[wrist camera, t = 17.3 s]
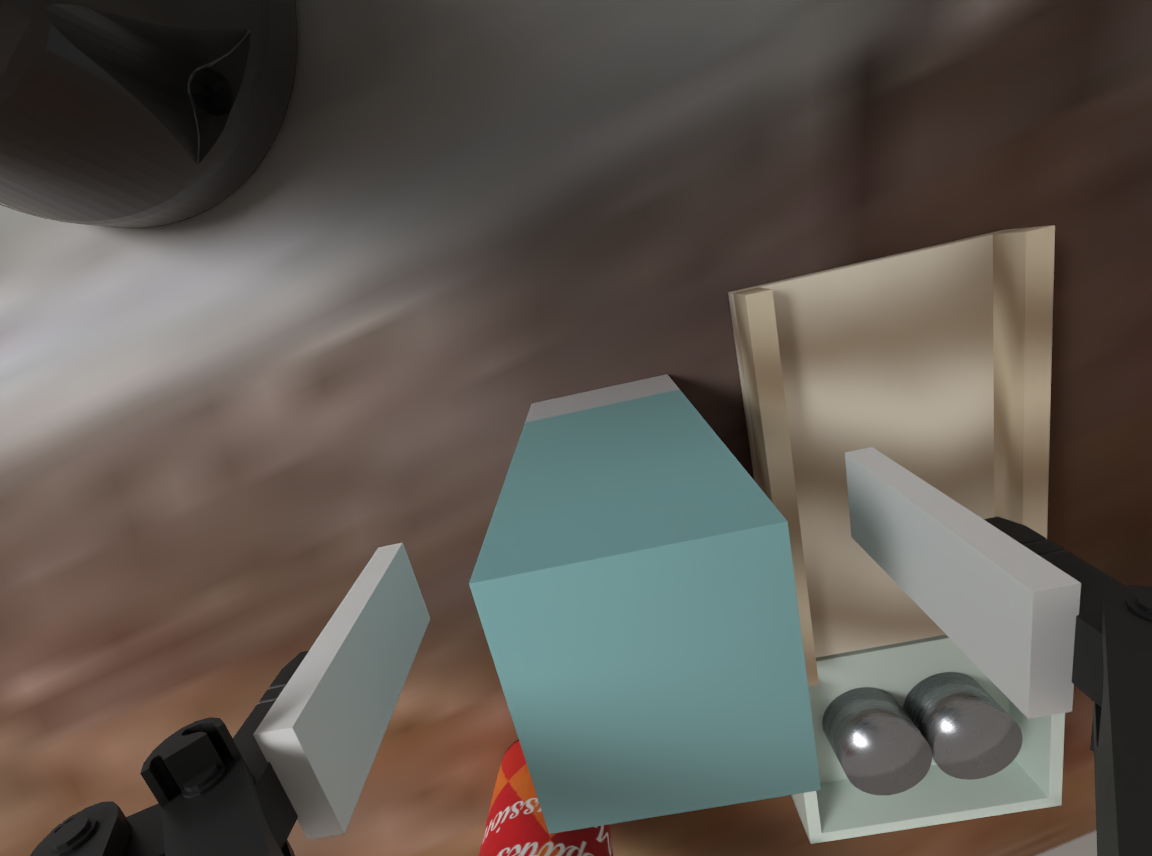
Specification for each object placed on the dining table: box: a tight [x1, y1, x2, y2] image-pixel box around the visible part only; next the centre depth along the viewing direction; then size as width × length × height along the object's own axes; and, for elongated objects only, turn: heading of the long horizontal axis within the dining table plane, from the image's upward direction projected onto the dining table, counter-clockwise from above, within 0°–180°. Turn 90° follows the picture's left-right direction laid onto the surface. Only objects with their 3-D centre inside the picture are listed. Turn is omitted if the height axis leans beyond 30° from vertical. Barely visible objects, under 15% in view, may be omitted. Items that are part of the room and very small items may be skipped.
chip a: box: [903, 672, 1023, 780], centre depth 26 cm, size 4×4×2 cm
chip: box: [822, 687, 932, 795], centre depth 26 cm, size 4×4×2 cm
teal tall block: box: [469, 374, 821, 834], centre depth 18 cm, size 6×6×14 cm
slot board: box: [728, 225, 1055, 686], centre depth 23 cm, size 18×11×2 cm, turn 13°
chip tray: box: [791, 635, 1065, 844], centre depth 27 cm, size 8×12×3 cm
